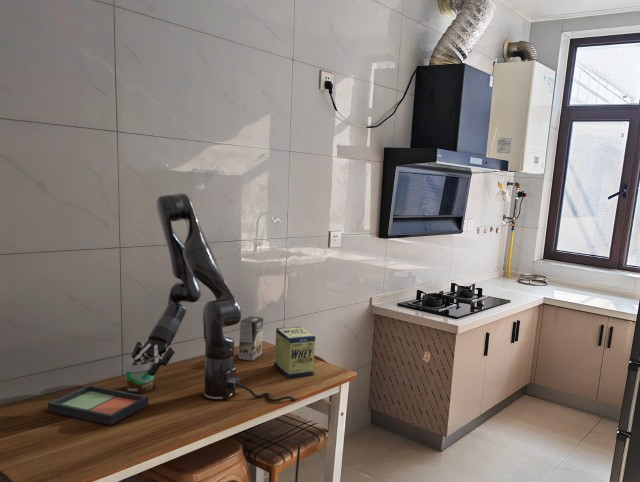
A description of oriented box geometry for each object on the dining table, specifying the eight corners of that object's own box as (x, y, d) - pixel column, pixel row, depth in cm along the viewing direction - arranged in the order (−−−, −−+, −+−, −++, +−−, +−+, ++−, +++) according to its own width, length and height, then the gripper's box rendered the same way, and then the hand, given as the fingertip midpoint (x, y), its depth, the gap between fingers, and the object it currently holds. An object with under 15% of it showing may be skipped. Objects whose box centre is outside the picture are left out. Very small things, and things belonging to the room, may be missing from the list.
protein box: (288, 378, 207) (290, 338, 204) (273, 365, 220) (275, 327, 217) (313, 375, 213) (316, 336, 210) (298, 362, 225) (300, 325, 223)
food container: (141, 397, 179) (141, 368, 177) (124, 394, 180) (124, 365, 178) (164, 384, 191) (164, 357, 189) (148, 381, 192) (148, 354, 190)
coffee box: (253, 361, 222) (254, 322, 219) (238, 359, 223) (239, 320, 220) (261, 354, 231) (263, 317, 228) (247, 352, 232) (249, 315, 229)
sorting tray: (148, 404, 174) (148, 396, 174) (111, 425, 159) (110, 416, 158) (89, 392, 179) (89, 384, 178) (48, 411, 164) (47, 402, 163)
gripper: (142, 321, 190) (117, 364, 181) (178, 328, 187) (155, 371, 178) (152, 332, 197) (128, 374, 187) (187, 338, 193) (165, 381, 184)
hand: (141, 373), depth 183 cm, fingers closed on food container, 6 cm apart
